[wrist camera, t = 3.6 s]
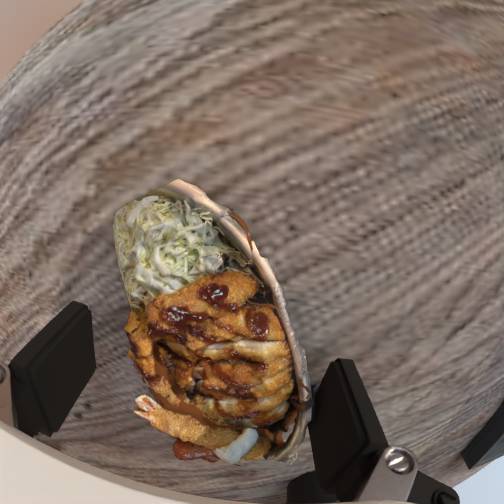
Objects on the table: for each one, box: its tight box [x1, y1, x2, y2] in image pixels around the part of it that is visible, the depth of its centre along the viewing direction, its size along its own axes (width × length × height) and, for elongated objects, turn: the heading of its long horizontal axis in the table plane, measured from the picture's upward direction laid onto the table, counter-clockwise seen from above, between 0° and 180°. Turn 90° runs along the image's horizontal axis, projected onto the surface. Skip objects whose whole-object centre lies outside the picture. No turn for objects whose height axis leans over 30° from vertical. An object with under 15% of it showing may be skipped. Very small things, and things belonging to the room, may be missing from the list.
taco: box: [113, 179, 321, 466], centre depth 9 cm, size 7×12×4 cm, turn 22°
